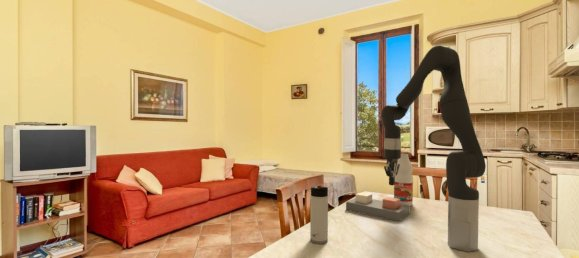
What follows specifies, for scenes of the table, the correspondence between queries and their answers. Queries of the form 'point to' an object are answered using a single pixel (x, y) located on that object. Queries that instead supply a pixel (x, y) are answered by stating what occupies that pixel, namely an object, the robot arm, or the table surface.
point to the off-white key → (364, 198)
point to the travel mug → (319, 215)
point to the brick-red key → (391, 203)
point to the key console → (378, 209)
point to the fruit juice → (404, 180)
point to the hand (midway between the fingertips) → (391, 184)
